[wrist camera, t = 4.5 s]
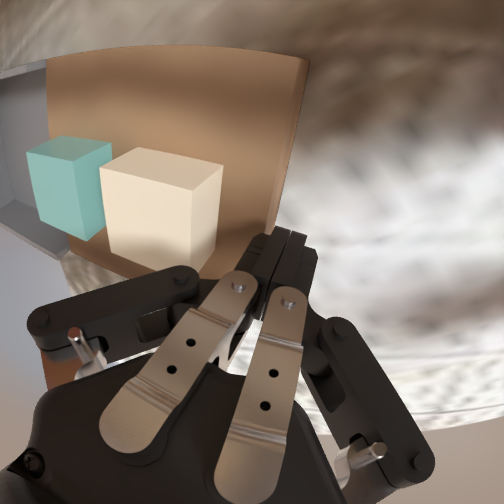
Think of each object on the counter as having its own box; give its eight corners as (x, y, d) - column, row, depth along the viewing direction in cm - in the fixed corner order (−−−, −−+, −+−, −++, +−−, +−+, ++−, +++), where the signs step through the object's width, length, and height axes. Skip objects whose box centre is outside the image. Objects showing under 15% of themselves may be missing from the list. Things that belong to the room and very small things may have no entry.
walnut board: (78, 53, 14) (46, 59, 12) (309, 60, 12) (299, 57, 9) (92, 233, 24) (71, 251, 22) (258, 295, 22) (244, 325, 19)
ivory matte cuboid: (137, 147, 14) (99, 167, 12) (223, 165, 13) (192, 190, 11) (141, 224, 17) (111, 252, 15) (215, 249, 16) (190, 284, 14)
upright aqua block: (60, 135, 15) (26, 151, 13) (111, 142, 14) (72, 161, 12) (69, 199, 18) (40, 220, 16) (117, 216, 17) (86, 241, 15)
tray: (-1, 72, 17) (-35, 85, 13) (76, 53, 14) (26, 63, 11) (16, 200, 27) (-10, 219, 23) (90, 232, 24) (57, 260, 21)
